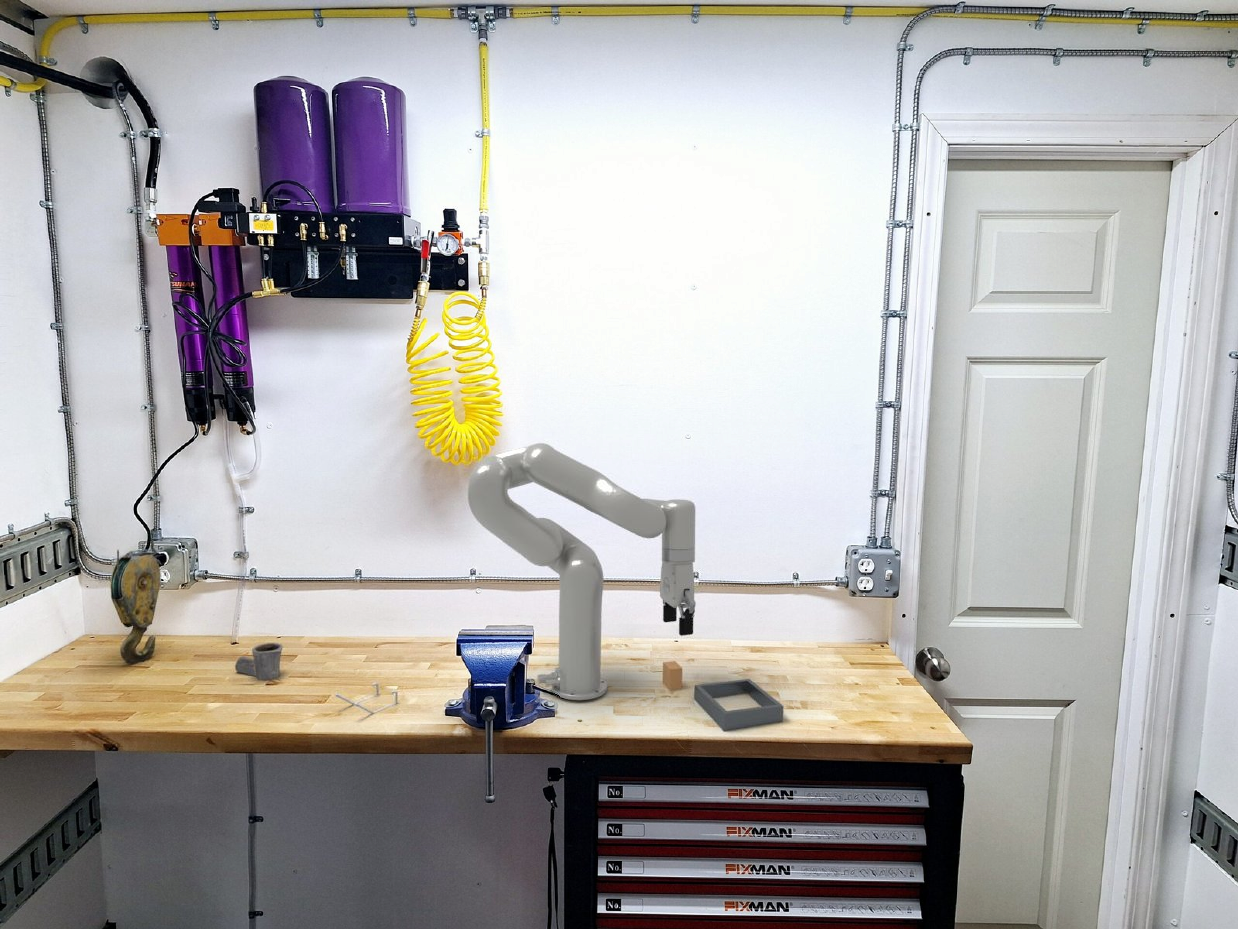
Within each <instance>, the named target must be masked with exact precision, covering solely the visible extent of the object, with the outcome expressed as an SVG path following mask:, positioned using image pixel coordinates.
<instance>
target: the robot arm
mask: <svg viewBox="0 0 1238 929" xmlns="http://www.w3.org/2000/svg"><path fill="white" fill-rule="evenodd" d="M468 481H469V482H468V488H467V500H468V505H469V508H470V509H469V510H470V511H471V513H472V515H473V516H474V518H475V520H476V521H477V522H478V523H479V524H480V525H481V526H482V527H483V528H484V529H486V530H487V531H489V533H491V534H493V535H494V536H495V537H496V538H498V539H499V540H500V541H502V543H504V544H505V545H507V546H508V547H510V548H511V549H512V550H514V551H515V552H516V553H518V554H519V555H521V556H522V557H523V558H525V559H526V560H527V561H528V562H530V563H531V564H533V565H535V566H539V567H548V568H549V569H551V570H552V571H554V572H555V573H556V574H558V575H559V597H558V598H559V603H558V607H559V608H558V666H556V667H555V668H554V671H552V672H551V673H547V674H546V673H544V674H543V673H541V674H537V676H536V677H537V683H538V684H544V685H545V687H550V686H551V691H552V693H553V692H554V693H555V694H558V695H559V696H560V697H559V696H558V697H559V698H561V699H562V698H563V699H566V700H572V701H586V700H593V699H597V698H599V697H601V696H604V695H605V693H607V690H608V682H607V681H606V680H605V679H603V678H602V677H601V665H602V664H601V663H602V661H601V660H602V614H603V613H602V612H603V611H602V609H603V608H602V607H603V606H602V605H603V604H602V603H603V595H604V594H603V593H604V592H603V591H604V571H603V568H602V567H603V566H602V564H601V561H600V560H599V558H598V556H597V554H596V552H595V551H594V550H593V548H591V547H590V546H589V545H587V544H586V543H585V542H583V541H582V540H580V539H579V538H578V537H576V536H575V535H574V534H572V533H571V532H569V531H568V530H566V529H565V528H564V527H563V526H561V525H560V524H558V523H557V522H555V521H553V520H552V519H550V518H547V517H536V516H535V515H534V514H532V513H530V512H529V511H527V510H526V509H525V508H524V507H523V506H521V505H520V504H518V503H516V502H515V501H514V500H513V499H511V497H510V496H509V492H508V491H509V490H511V489H514V488H518V487H522V486H526V485H528V484H532V483H534V484H536V485H538V486H540V487H542V488H544V489H547V490H549V491H550V492H553V493H554V494H557V495H558V496H561V497H563V498H564V499H567V500H568V501H570V502H572V503H575V505H578V506H580V507H582V508H583V509H585V510H587V511H589V512H591V513H594V514H595V515H598V517H599V516H600V517H602V518H603V519H605V520H607V521H609V522H610V523H612V524H614V525H616V526H618V527H621V528H622V529H624V530H627V531H628V532H630V533H632V534H634V535H636V536H638V537H641V538H643V539H655V538H656V537H659V536H660V535H661V561H662V562H661V568H660V583H659V588H660V589H659V596H660V599H661V600H662V608H663V609H662V616H663V617H662V621H663V622H664V623H673V622H677V614H678V613H677V610H678V611H679V614H680V616H679V618H678V621H679V622H678V628H679V629H678V634H679V635H680V636H681V637H682V636H691V635H693V634H694V618H695V612H696V611H695V610H696V609H695V608H696V605H697V604H696V600H695V574H694V573H695V572H694V564H693V563H695V561H696V506H695V503H694V502H693V501H692V500H688V499H669V500H659V499H653V498H641V497H639V496H638V495H635V494H633V493H631V492H630V491H628V490H626V489H624V488H623V487H621V486H619V485H618V484H617V483H615V482H614V481H612V480H611V479H609V478H608V477H607V476H606V475H604V474H603V473H601V472H600V471H598V470H596V469H594V468H592V467H590V466H588V465H586V464H584V463H582V462H580V461H578V460H576V459H574V458H571V457H570V456H569V455H566V454H564V453H563V452H560V451H558V450H557V449H555V447H553V446H552V445H550V444H547V443H543V442H542V443H541V442H539V443H534V444H531V445H528V446H524V447H521V448H518V449H514V450H509V451H506V452H502V453H498V454H496V455H495V454H494V455H491V456H488V457H485V458H483V459H481V460H480V461H479V462H478V463H477V464H476V465H475V467H474V468H473V470H472V472H471V474H470V477H469V480H468ZM677 608H678V609H677ZM684 609H685V610H684ZM554 693H553V694H554ZM555 694H554V695H555Z"/></svg>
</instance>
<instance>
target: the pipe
mask: <svg viewBox="0 0 1238 929" xmlns="http://www.w3.org/2000/svg"><path fill="white" fill-rule="evenodd" d="M283 648H284V646H283V645H282V644H281V643H278V642H267V643H262V644H258V645H255V646H254V647H253V648H252V650H251V652H252V656H253V658H250V657H249V656H248V657H247V656H243V655H242V656H240V657H239V658H238V659H237V661H236V662H235V665H234V668H235V669H234V670H235V671H236V672H238V673H241V674H244V675H248V676H251V677H256V678H257V680H261V681H270V680H276V679H278V678H279V677H280V676H281V675H280V674H281V673H280V664H281V657H282V656H281V655H282V651H283Z"/></svg>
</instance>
